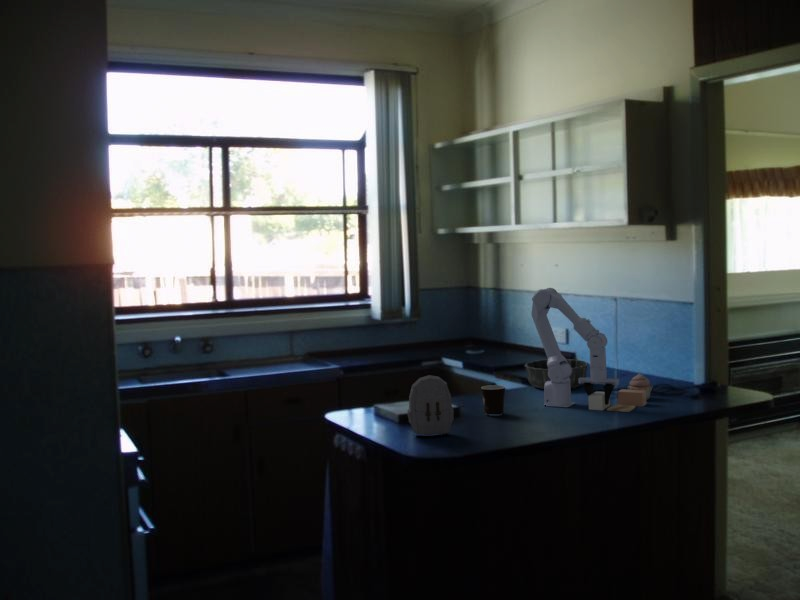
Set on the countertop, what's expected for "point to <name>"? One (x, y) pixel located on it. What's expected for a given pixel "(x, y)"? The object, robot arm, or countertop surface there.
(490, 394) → the coffee mug
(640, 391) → the tan cardboard brick
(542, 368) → the bundt pan
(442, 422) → the grey rounded bag
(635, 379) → the cupcake
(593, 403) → the block
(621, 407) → the coaster
